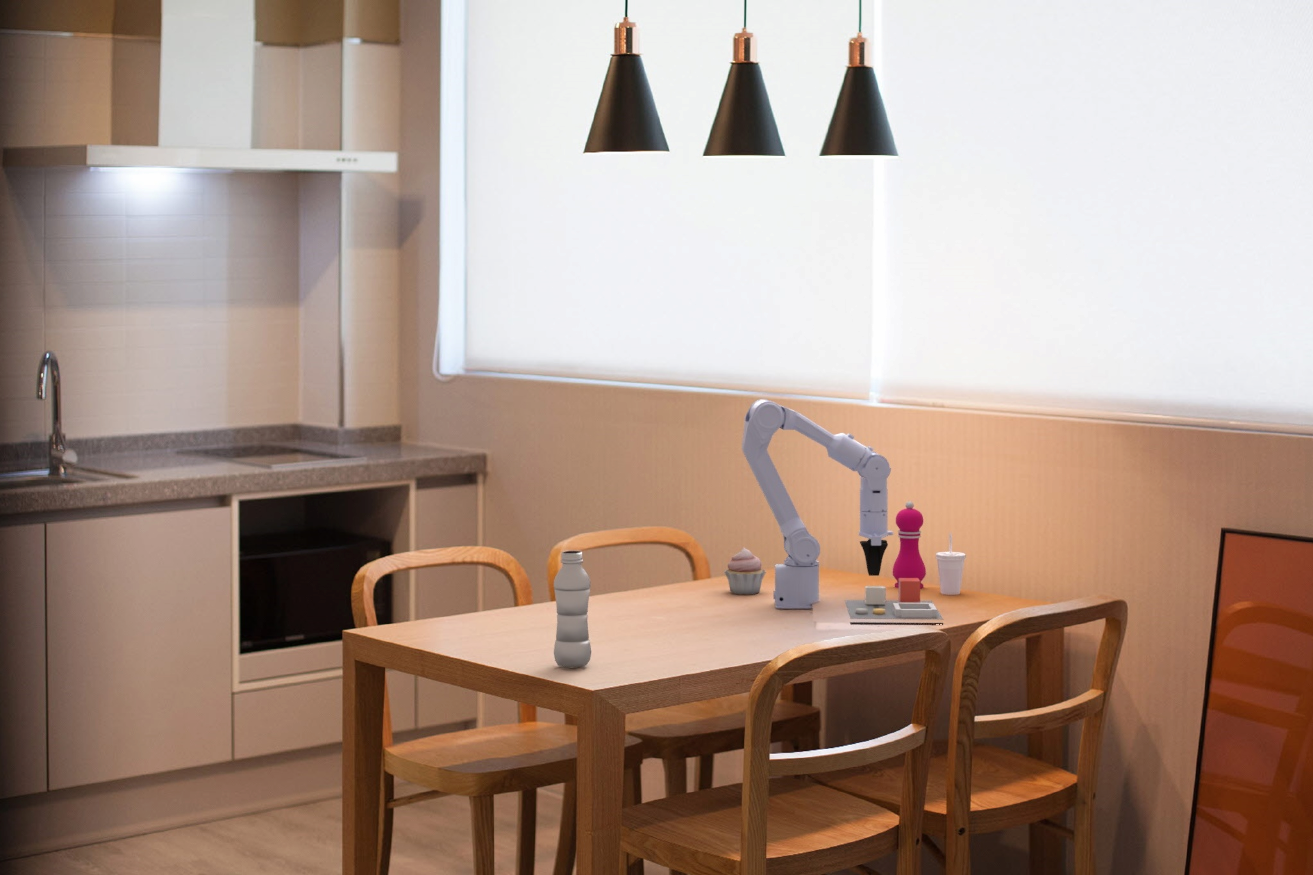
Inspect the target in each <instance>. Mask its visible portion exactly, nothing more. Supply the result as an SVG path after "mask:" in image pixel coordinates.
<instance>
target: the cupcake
mask: <svg viewBox="0 0 1313 875" xmlns="http://www.w3.org/2000/svg"><path fill="white" fill-rule="evenodd" d="M723 572H724V575H725V577H726V579H727V582H728V585H729V586H728V587H729V590H730V593H732V594H735V595H739V594H752V595H757V594H759V593H760V592H761V587H762V583H763V579H764V577H765V575H766V573H767V570H765V569H762V561H761V560H760V558H759V557H757V556H756V555H754V554H753V553H752V552H751V550H749V549H747V548H745V547H744V546H743V548H742V549H741V550H740V551H739V552H737V553H736V554H734V555H733V556H732V557H731V560H729V562H728V563H727V569H724V571H723Z"/></svg>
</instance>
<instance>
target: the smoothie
mask: <svg viewBox="0 0 1313 875" xmlns="http://www.w3.org/2000/svg"><path fill="white" fill-rule="evenodd" d="M948 534H949V537H948V542H949V544H948V545H949V546H948V551H940V552H939V551H938V552H936V553H935V559H936V561H937V569H938V570H937V571H938V578H939V587H940V594H942V595H947V596H948V595H949V596H956V595H960V593H961V587H962V581H963V573H964V572H963V571H964V564H965V560H967V557H966V556H967V555H966V553H964V552H959V551H952V550H953V533H952V532H950V533H948Z"/></svg>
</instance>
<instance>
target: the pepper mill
mask: <svg viewBox="0 0 1313 875" xmlns="http://www.w3.org/2000/svg"><path fill="white" fill-rule="evenodd" d="M914 506H915V505H914V503H913V501H909V500H908V501H906V502H905V508H903V509H901V510H900V511H898V512H897V514H896V516H895V524H896V527H898V529H899V530H898V531H897V533H898V535H897V537H898V538H899V543H900V544H899V552H898V554H897V556H896V559H895V561H894V563H893V567H892V577H893V578H894V579H895V580H896V582H895V583H894V588H897V589H899V578H918V579H919V580H920V589H923V588H924V583H922V581H923V579H925V578H926V575H927V571H926V565H925V563H924V561H923V558H922V555H921V553H920V549H919V543H920V542H919V541H920V538H921V537H922V536H921V533H922V531H921V530H920V529H921V527H923V525H924V516H923V514H922V512H921V511H919V510H918V509H916V508H914Z"/></svg>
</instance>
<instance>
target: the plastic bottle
mask: <svg viewBox="0 0 1313 875" xmlns="http://www.w3.org/2000/svg"><path fill="white" fill-rule="evenodd" d="M560 553H561V554H560V555H561V556H560V558H561V560H560V563H561V564H562V565H561V567H560V569H559V570H558V572H557V573H556V575H555V577H554V580H553V589H554V596H555V606H556V613H557V614H556V618H557V619H556V622H557V623H556V634H555V641H554V648H553V656H554V657H553V658H554V662H555V663H556V665H557V666H559V667H563V668H568V667H576V668H581V667H584V666H587V665H588V664H589V662H590V660H591V657H592V646H591V642H590V639H589V638H590V635H589V626H588V625H589V623H588V618H589V616H588V612H589V599H590V593H591V583H592V582H591V579H590V575H589V574H588V573H587V571H586V570H585V569H584V567H583V566H582V563H584V559H583V551H581V550H564V551H561V552H560Z"/></svg>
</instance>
